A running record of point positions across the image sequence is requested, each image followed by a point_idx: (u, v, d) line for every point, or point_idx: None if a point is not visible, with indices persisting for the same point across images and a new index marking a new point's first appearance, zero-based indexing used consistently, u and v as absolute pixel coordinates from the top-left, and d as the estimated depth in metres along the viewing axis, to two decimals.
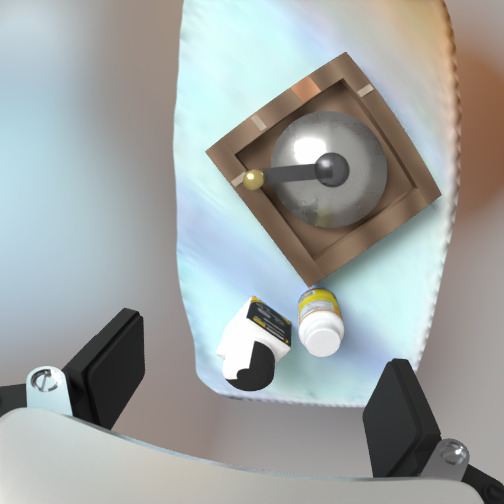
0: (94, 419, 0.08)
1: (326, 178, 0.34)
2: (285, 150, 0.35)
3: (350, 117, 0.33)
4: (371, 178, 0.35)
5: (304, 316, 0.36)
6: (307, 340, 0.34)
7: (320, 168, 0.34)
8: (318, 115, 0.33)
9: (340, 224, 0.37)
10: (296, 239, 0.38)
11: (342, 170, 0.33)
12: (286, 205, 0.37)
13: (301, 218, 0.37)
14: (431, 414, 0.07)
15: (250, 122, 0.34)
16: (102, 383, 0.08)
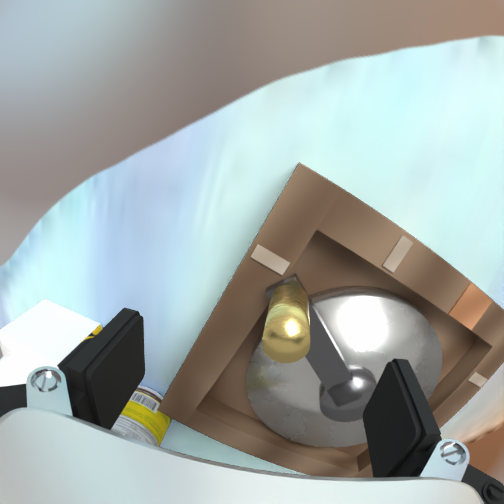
0: (94, 419, 0.08)
1: (333, 400, 0.18)
2: (358, 317, 0.18)
3: (436, 379, 0.18)
4: (352, 431, 0.21)
5: None
6: None
7: (346, 388, 0.18)
8: (431, 340, 0.17)
9: (267, 422, 0.21)
10: (212, 381, 0.20)
11: (354, 413, 0.18)
12: (259, 351, 0.19)
13: (249, 377, 0.20)
14: (431, 414, 0.07)
15: (393, 237, 0.16)
16: (102, 383, 0.08)
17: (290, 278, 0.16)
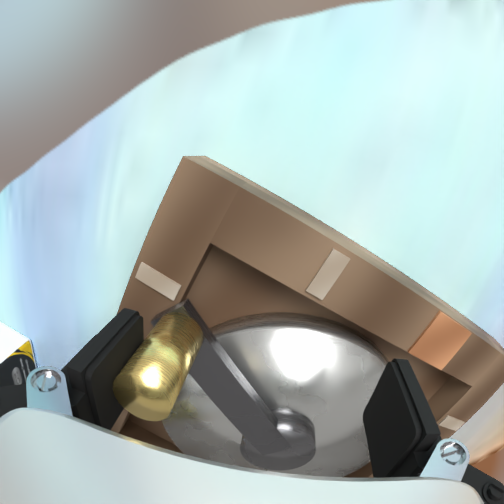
0: (94, 419, 0.08)
1: (255, 448, 0.14)
2: (282, 354, 0.14)
3: None
4: None
5: None
6: None
7: (270, 438, 0.14)
8: None
9: None
10: (124, 412, 0.16)
11: (285, 462, 0.14)
12: None
13: None
14: (431, 414, 0.07)
15: (320, 251, 0.12)
16: (102, 383, 0.08)
17: (179, 305, 0.12)
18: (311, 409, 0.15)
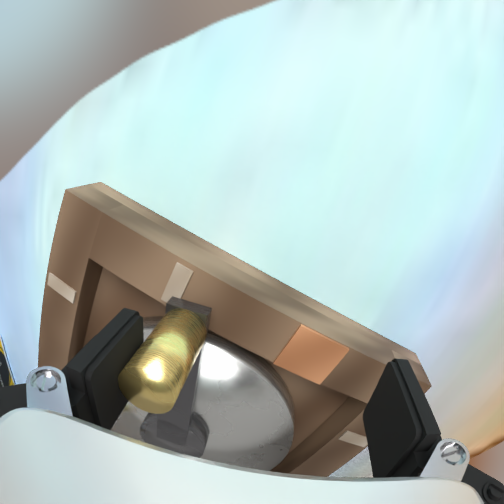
0: (94, 419, 0.08)
1: (156, 430, 0.15)
2: (236, 384, 0.15)
3: None
4: None
5: None
6: None
7: (176, 431, 0.15)
8: (283, 445, 0.16)
9: None
10: None
11: None
12: None
13: None
14: (431, 414, 0.07)
15: (167, 265, 0.13)
16: (102, 383, 0.08)
17: (202, 309, 0.13)
18: (217, 427, 0.16)
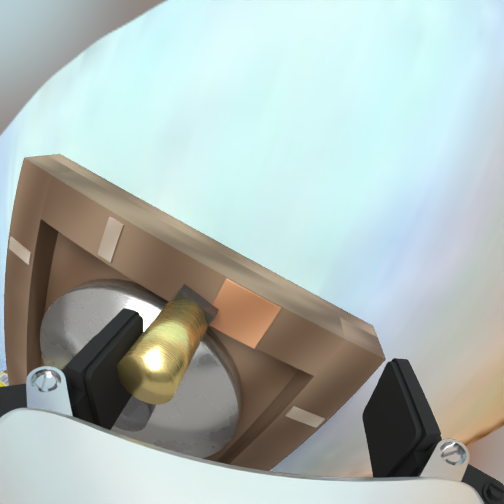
0: (94, 419, 0.08)
1: None
2: (202, 379, 0.15)
3: None
4: None
5: None
6: None
7: None
8: (217, 444, 0.17)
9: (43, 330, 0.16)
10: (25, 365, 0.18)
11: None
12: (107, 295, 0.15)
13: (74, 294, 0.15)
14: (431, 414, 0.07)
15: (102, 220, 0.13)
16: (102, 383, 0.08)
17: (210, 308, 0.13)
18: (164, 408, 0.17)
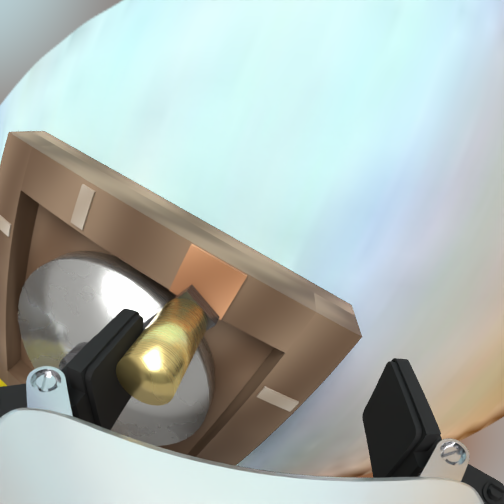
0: (94, 419, 0.08)
1: None
2: None
3: None
4: None
5: None
6: None
7: None
8: (177, 436, 0.17)
9: (26, 289, 0.15)
10: (4, 342, 0.17)
11: None
12: (105, 273, 0.14)
13: (69, 263, 0.14)
14: (431, 414, 0.07)
15: (76, 188, 0.13)
16: (102, 383, 0.08)
17: (212, 315, 0.13)
18: None
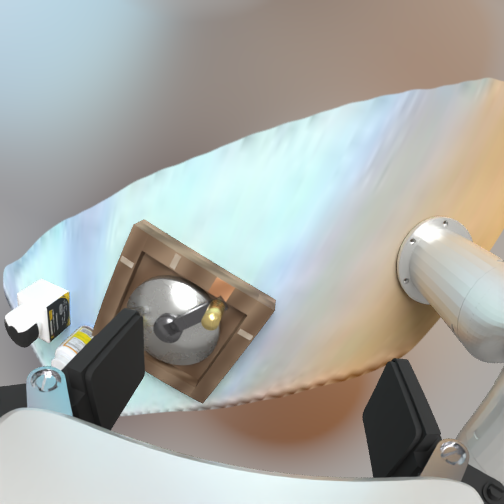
0: (94, 419, 0.08)
1: (166, 323, 0.41)
2: None
3: (178, 363, 0.44)
4: None
5: (69, 346, 0.41)
6: (55, 359, 0.39)
7: (174, 329, 0.41)
8: (199, 358, 0.44)
9: (139, 288, 0.41)
10: (112, 317, 0.43)
11: (159, 333, 0.41)
12: (185, 287, 0.40)
13: (169, 281, 0.40)
14: (431, 414, 0.07)
15: (172, 254, 0.39)
16: (102, 383, 0.08)
17: (226, 306, 0.39)
18: (184, 336, 0.43)
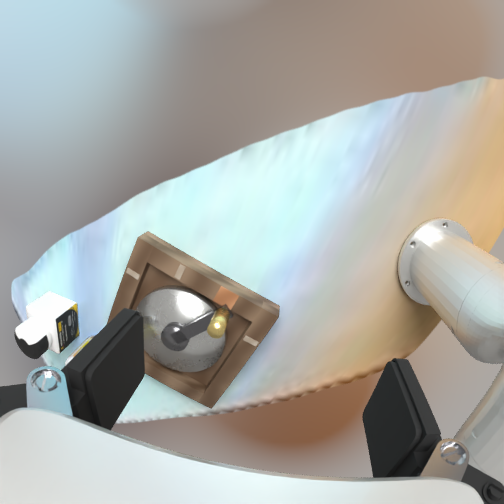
0: (94, 419, 0.08)
1: (173, 332, 0.42)
2: None
3: (186, 370, 0.45)
4: (148, 338, 0.44)
5: None
6: None
7: (181, 337, 0.42)
8: (206, 365, 0.44)
9: (146, 299, 0.42)
10: None
11: (167, 341, 0.42)
12: (191, 296, 0.41)
13: (174, 291, 0.41)
14: (431, 414, 0.07)
15: (177, 265, 0.40)
16: (102, 383, 0.08)
17: (231, 313, 0.40)
18: (191, 344, 0.44)
